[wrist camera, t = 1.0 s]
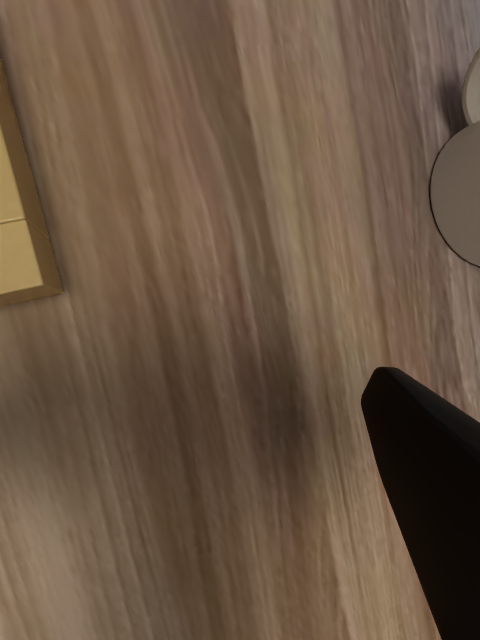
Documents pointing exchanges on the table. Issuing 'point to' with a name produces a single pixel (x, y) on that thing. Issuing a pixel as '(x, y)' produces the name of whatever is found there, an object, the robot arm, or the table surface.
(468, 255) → the mug
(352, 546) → the table surface
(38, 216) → the stand
